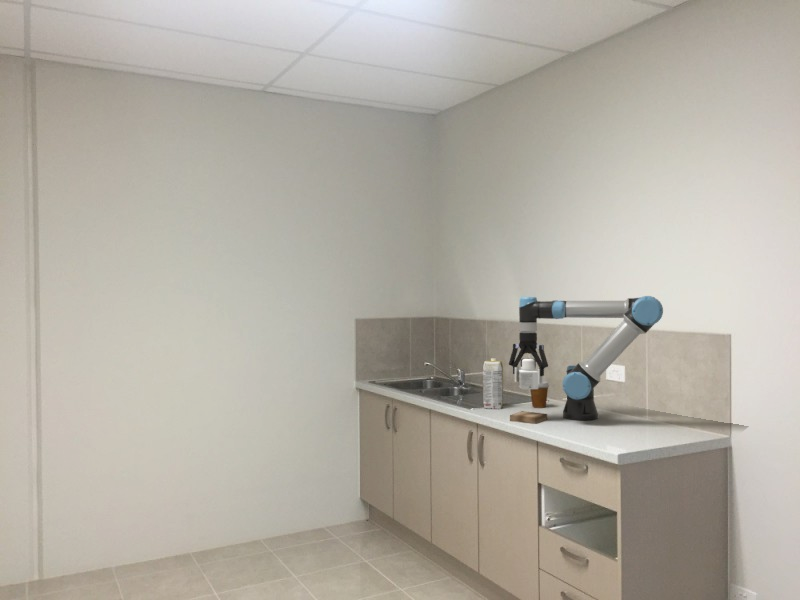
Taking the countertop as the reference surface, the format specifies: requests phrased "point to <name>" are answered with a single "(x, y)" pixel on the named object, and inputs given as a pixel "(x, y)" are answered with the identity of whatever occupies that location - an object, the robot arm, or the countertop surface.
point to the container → (528, 374)
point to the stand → (528, 417)
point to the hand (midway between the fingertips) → (528, 382)
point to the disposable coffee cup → (539, 395)
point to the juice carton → (493, 384)
